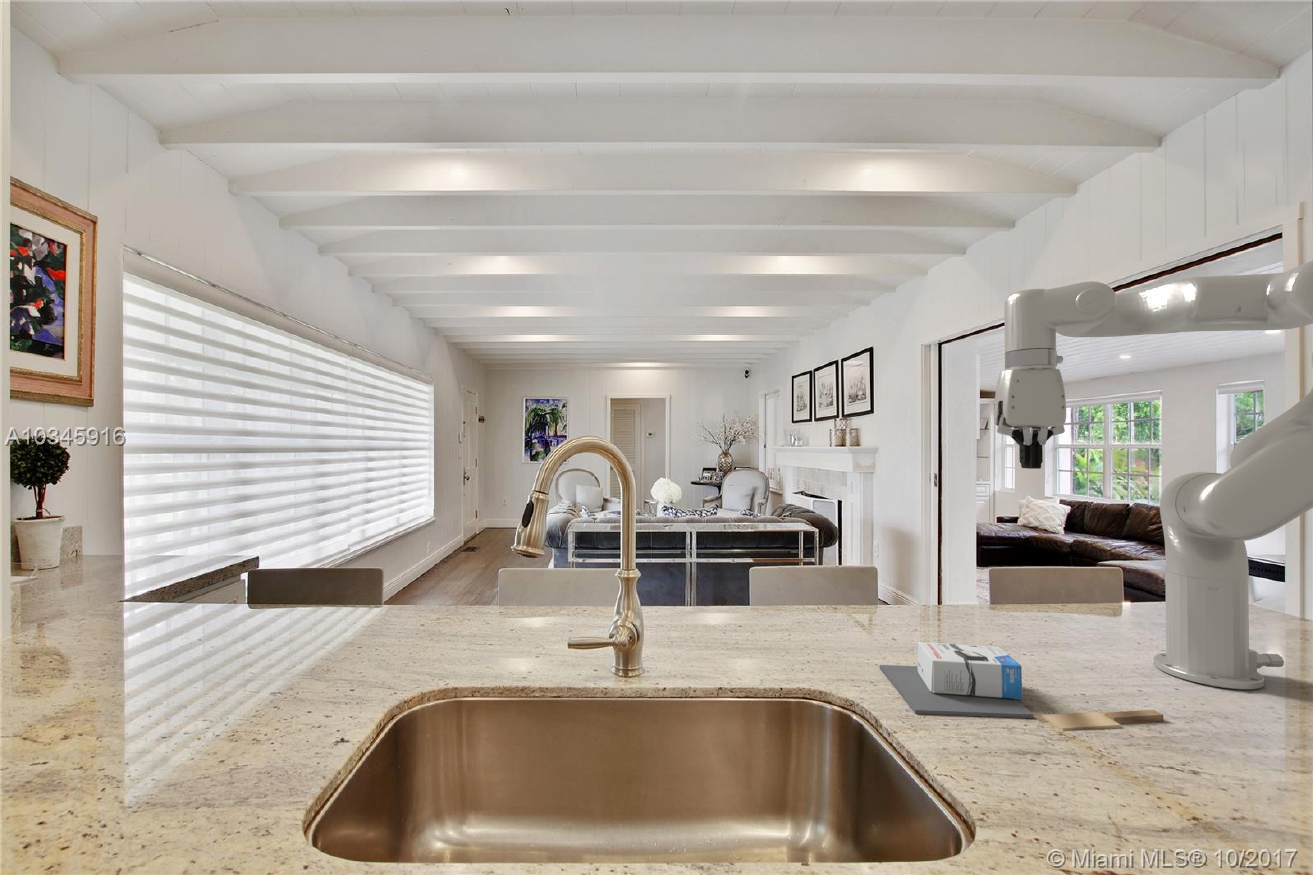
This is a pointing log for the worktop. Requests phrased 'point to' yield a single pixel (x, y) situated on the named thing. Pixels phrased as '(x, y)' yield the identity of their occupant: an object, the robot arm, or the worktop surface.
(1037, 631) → the worktop surface
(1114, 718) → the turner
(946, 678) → the ink box
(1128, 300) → the robot arm
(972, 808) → the worktop surface
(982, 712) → the mat
